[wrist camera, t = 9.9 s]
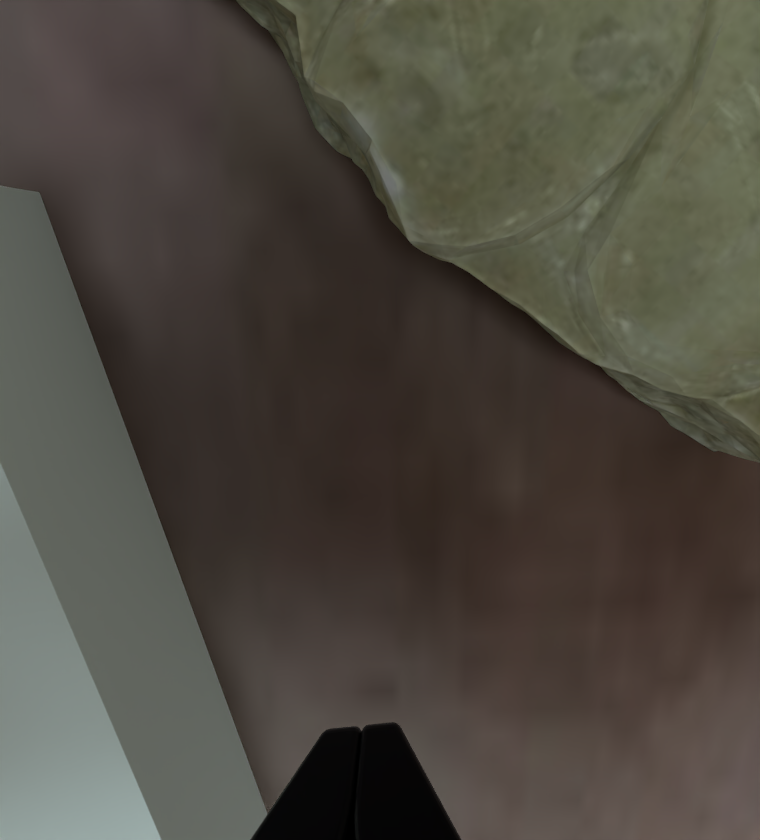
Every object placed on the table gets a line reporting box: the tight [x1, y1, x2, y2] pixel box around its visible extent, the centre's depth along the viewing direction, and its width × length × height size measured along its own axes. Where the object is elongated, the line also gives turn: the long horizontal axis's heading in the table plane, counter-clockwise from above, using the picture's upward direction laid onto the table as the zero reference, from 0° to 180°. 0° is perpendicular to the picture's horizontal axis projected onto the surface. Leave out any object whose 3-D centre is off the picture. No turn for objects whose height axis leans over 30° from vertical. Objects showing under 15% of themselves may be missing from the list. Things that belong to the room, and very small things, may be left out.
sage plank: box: [0, 186, 267, 840], centre depth 11 cm, size 14×4×4 cm, turn 14°
